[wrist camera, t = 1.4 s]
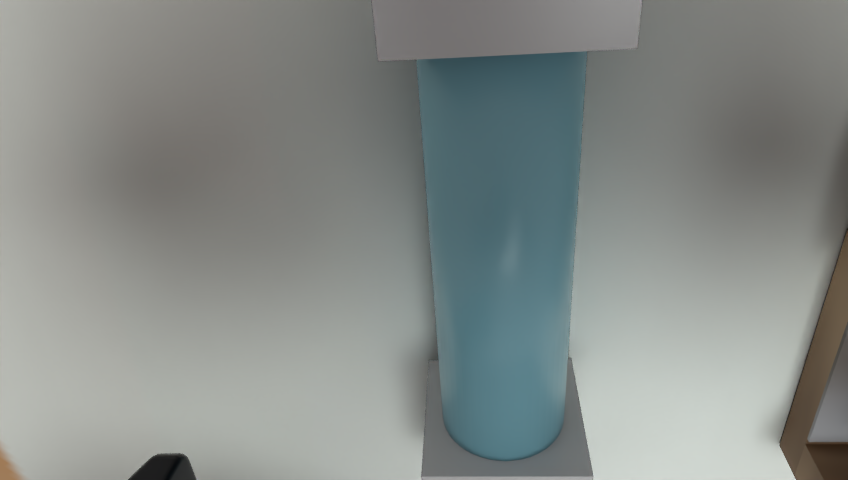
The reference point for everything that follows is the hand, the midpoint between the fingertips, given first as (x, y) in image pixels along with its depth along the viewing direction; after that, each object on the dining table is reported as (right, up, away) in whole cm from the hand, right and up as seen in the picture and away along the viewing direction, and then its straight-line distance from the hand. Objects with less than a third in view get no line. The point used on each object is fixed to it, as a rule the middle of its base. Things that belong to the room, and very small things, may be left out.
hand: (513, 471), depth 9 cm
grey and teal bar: (0, +4, +6) cm, 7 cm away
